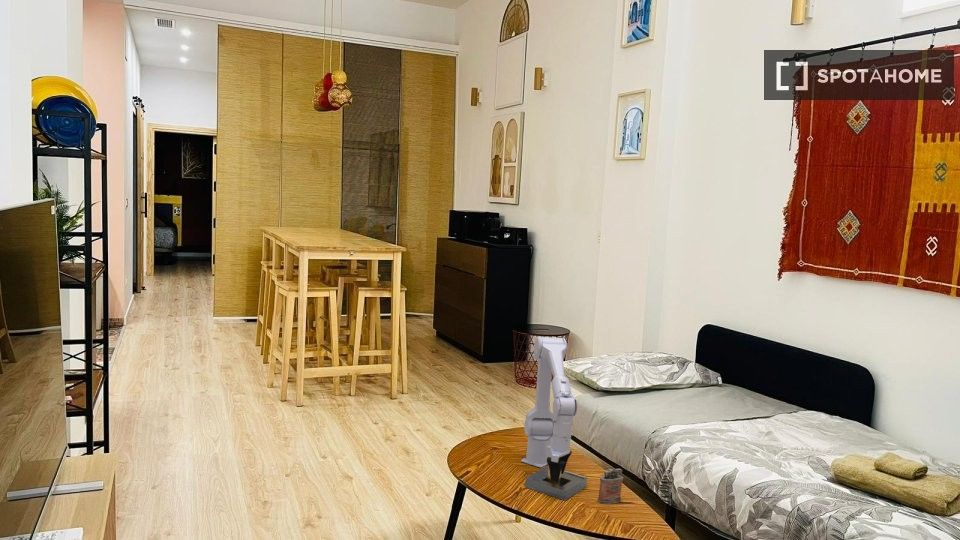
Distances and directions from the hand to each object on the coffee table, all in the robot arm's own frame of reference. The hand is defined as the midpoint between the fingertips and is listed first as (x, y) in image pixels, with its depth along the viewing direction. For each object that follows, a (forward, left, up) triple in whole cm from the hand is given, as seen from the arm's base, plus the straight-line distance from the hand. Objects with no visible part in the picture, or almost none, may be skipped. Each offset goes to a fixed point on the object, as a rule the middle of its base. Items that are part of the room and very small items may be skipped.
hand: (557, 477), depth 228 cm
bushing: (0, -1, -4) cm, 4 cm away
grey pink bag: (-4, +16, -4) cm, 17 cm away
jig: (-2, -1, -4) cm, 5 cm away
